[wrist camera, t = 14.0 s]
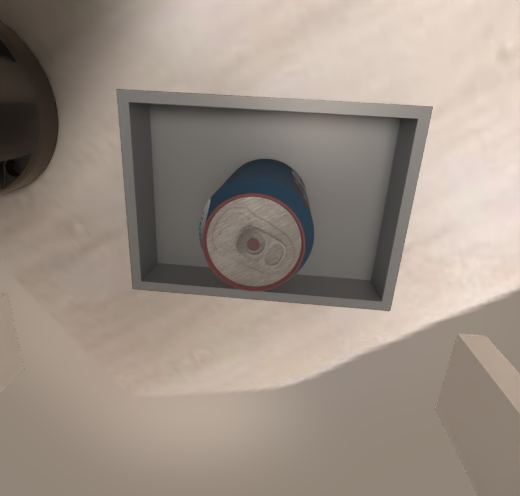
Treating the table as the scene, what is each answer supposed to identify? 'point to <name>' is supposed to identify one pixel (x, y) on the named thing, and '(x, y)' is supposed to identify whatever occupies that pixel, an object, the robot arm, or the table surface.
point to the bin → (284, 150)
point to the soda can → (258, 226)
